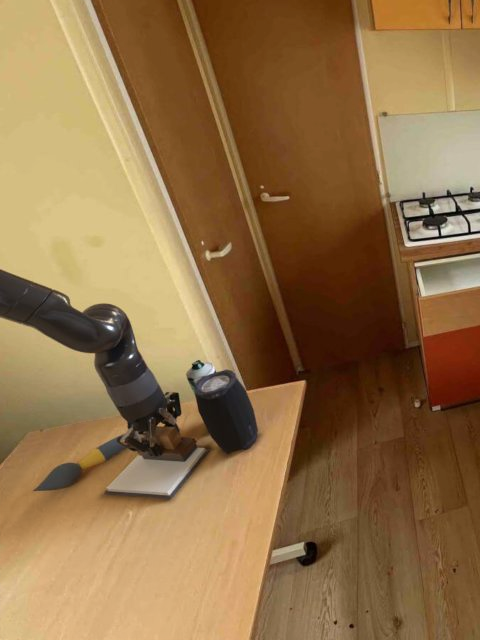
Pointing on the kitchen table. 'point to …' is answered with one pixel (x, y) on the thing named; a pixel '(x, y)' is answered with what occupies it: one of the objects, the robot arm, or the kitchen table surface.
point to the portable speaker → (226, 411)
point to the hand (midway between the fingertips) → (166, 445)
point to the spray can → (199, 372)
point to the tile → (155, 476)
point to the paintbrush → (80, 466)
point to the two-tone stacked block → (172, 445)
